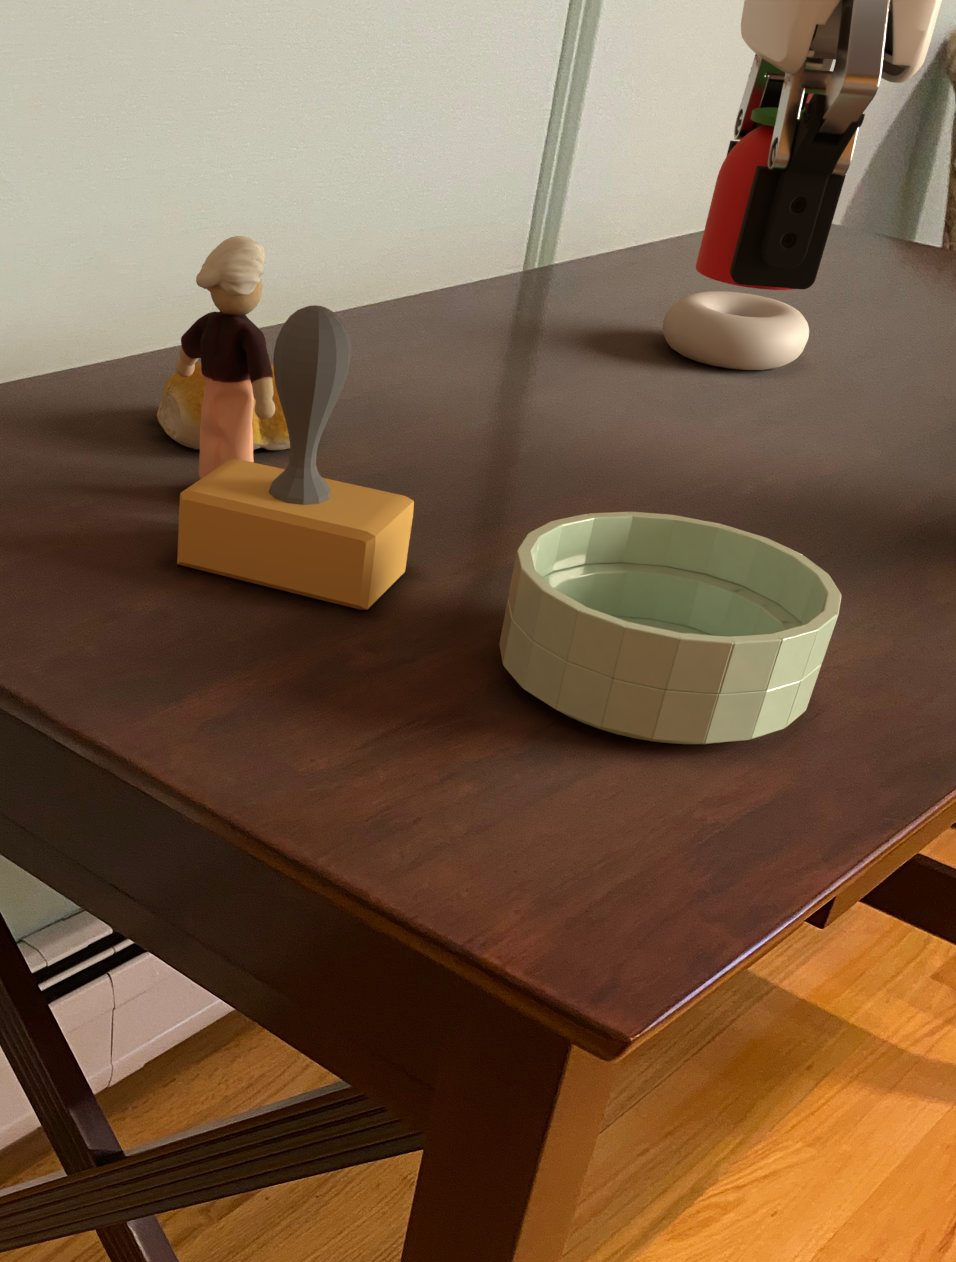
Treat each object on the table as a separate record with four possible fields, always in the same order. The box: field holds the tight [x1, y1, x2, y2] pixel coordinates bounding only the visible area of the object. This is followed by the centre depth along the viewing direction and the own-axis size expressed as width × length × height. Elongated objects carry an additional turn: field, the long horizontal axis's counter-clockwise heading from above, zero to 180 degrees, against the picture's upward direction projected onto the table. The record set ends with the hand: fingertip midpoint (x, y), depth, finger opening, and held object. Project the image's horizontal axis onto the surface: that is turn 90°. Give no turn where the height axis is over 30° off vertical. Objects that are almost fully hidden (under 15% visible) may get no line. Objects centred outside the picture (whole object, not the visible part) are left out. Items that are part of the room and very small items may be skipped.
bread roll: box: [156, 363, 290, 451], centre depth 87 cm, size 8×9×4 cm
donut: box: [662, 290, 810, 371], centre depth 105 cm, size 10×4×10 cm
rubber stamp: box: [176, 304, 415, 610], centre depth 69 cm, size 10×6×12 cm, turn 64°
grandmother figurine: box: [175, 235, 275, 480], centre depth 76 cm, size 8×4×13 cm, turn 48°
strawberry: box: [695, 107, 804, 291], centre depth 59 cm, size 5×5×6 cm
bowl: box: [498, 511, 843, 745], centre depth 64 cm, size 13×13×5 cm
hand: (757, 263), depth 60 cm, fingers closed on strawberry, 4 cm apart
